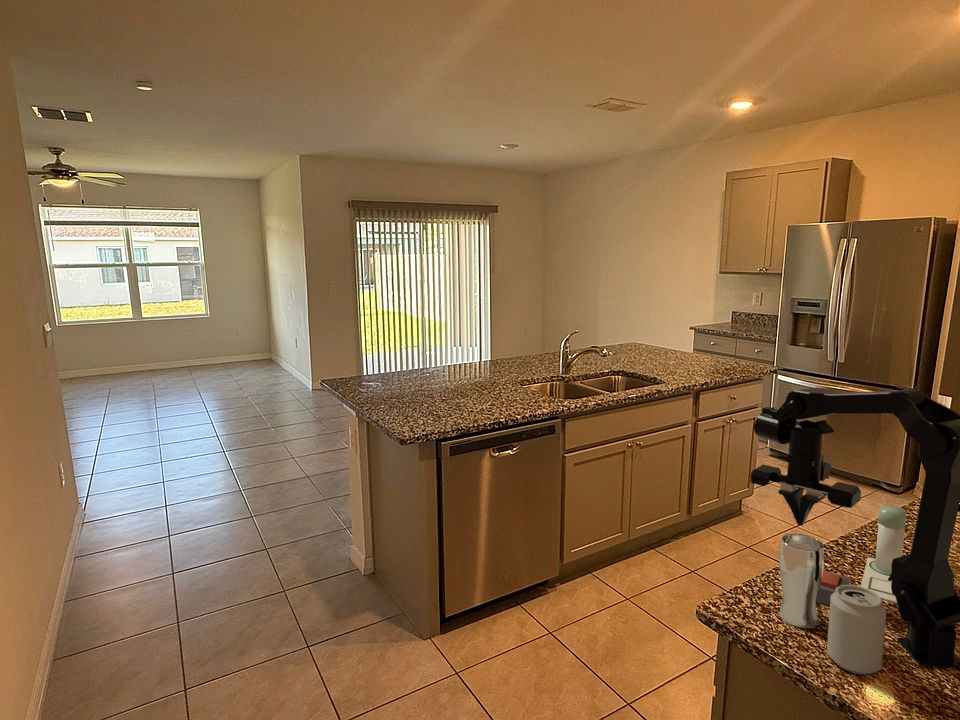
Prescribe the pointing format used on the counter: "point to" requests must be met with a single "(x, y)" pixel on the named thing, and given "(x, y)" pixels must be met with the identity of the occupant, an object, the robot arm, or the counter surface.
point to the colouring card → (877, 581)
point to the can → (856, 629)
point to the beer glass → (800, 578)
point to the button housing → (830, 590)
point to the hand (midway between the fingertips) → (800, 524)
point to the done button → (830, 580)
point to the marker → (889, 536)
